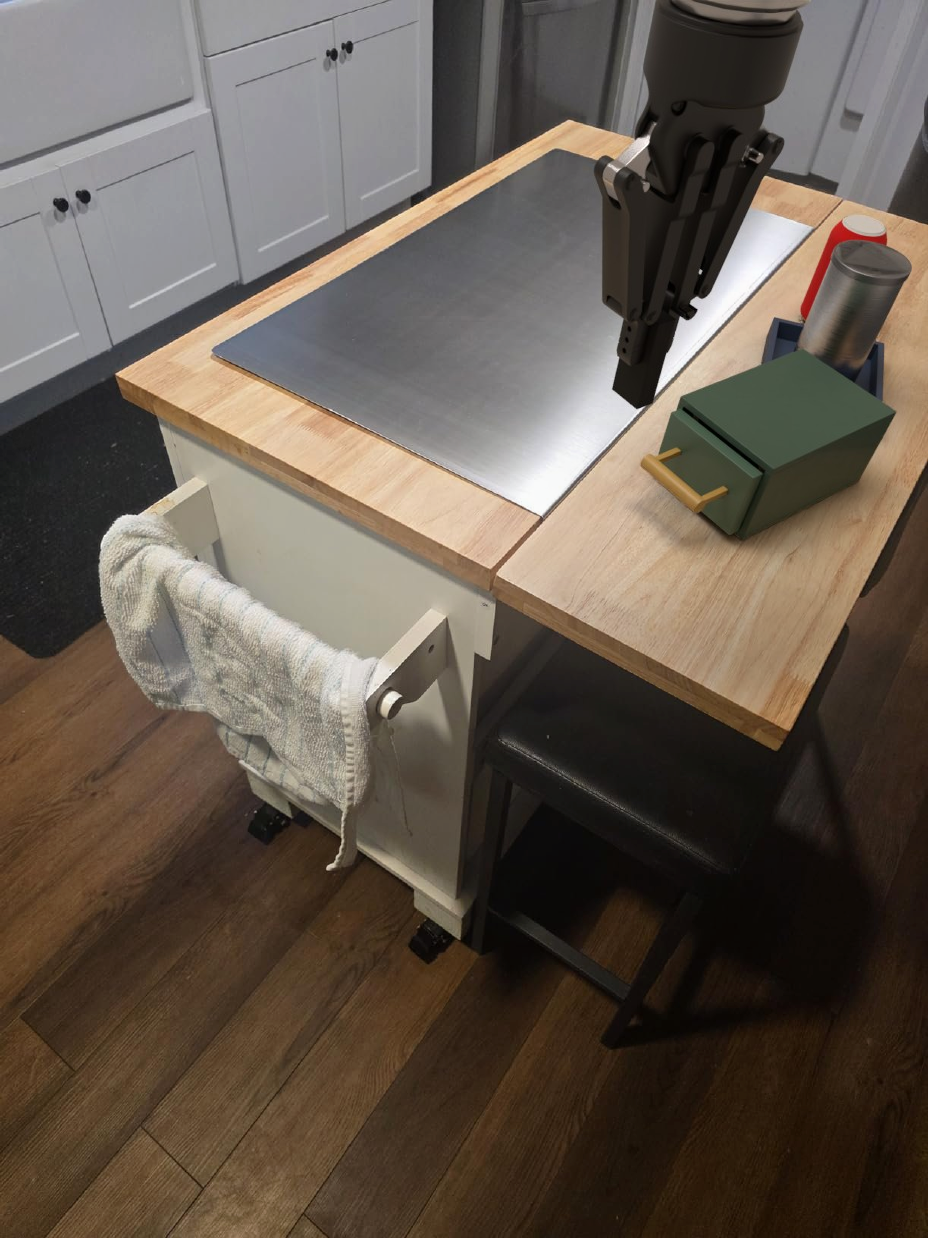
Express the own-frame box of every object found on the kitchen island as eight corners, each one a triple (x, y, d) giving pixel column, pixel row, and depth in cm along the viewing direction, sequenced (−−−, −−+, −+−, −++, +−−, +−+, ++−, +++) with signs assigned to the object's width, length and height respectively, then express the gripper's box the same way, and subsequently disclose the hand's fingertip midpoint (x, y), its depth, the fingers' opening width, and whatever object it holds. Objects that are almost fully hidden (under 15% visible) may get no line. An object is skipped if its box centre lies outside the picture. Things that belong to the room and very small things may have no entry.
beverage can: (853, 319, 105) (898, 220, 96) (842, 342, 102) (887, 243, 93) (803, 303, 107) (843, 205, 98) (791, 326, 103) (830, 226, 94)
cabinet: (741, 540, 79) (774, 469, 72) (657, 468, 85) (680, 396, 78) (858, 481, 85) (897, 411, 79) (773, 418, 91) (802, 347, 85)
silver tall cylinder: (866, 389, 95) (928, 267, 84) (821, 409, 92) (879, 285, 81) (814, 354, 99) (866, 233, 88) (768, 372, 96) (817, 249, 85)
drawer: (695, 552, 76) (718, 494, 71) (619, 484, 81) (635, 426, 76) (841, 479, 84) (871, 423, 79) (764, 421, 89) (787, 365, 84)
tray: (871, 441, 90) (882, 420, 88) (751, 410, 92) (759, 390, 90) (874, 362, 100) (884, 342, 98) (766, 336, 101) (774, 316, 100)
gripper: (767, -32, 48) (664, 346, 66) (585, -10, 43) (526, 394, 61) (874, 8, 44) (734, 398, 62) (689, 37, 39) (594, 454, 57)
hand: (632, 395), depth 62 cm, fingers closed
